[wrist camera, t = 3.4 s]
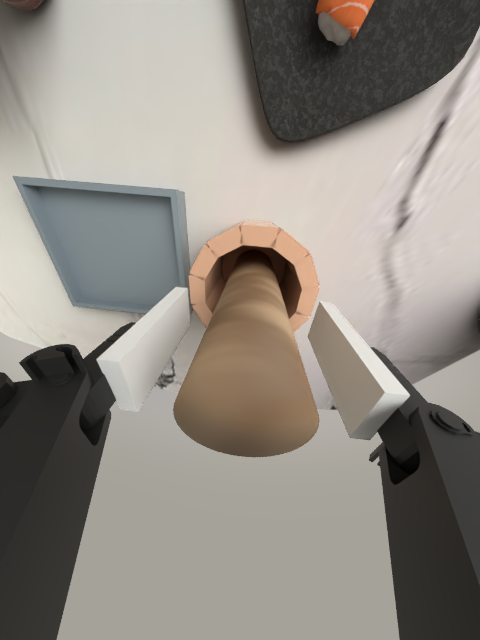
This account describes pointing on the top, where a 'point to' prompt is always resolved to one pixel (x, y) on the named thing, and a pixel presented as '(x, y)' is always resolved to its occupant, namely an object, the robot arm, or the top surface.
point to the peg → (248, 371)
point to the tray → (111, 240)
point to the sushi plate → (351, 56)
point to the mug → (24, 3)
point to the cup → (286, 259)
